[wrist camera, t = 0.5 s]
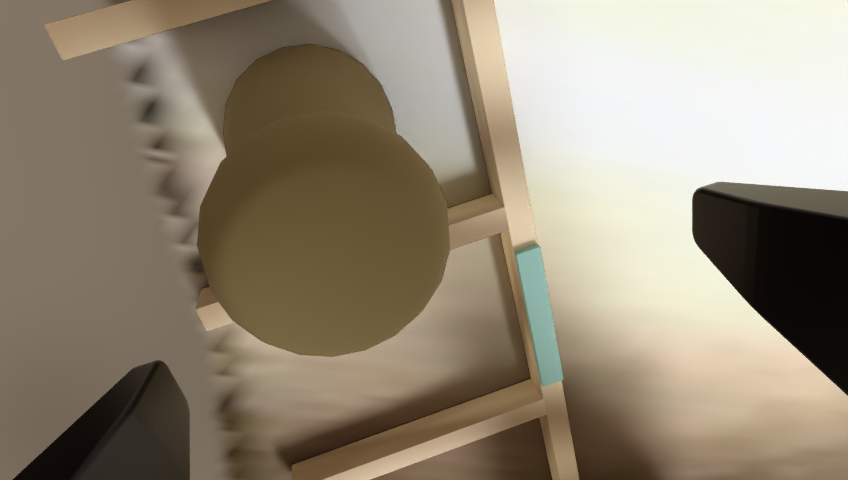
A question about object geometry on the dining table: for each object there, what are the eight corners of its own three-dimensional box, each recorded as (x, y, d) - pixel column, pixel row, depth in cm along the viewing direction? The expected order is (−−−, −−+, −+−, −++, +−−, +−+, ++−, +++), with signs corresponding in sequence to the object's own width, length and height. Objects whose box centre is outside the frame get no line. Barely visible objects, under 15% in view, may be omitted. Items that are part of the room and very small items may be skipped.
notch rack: (577, 515, 32) (592, 543, 31) (361, 599, 31) (365, 632, 30) (462, -91, 18) (479, -98, 17) (62, 21, 17) (39, 25, 16)
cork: (330, 239, 22) (364, 444, 12) (188, 150, 20) (89, 318, 10) (427, 116, 21) (550, 234, 11) (289, 4, 18) (291, 30, 9)
